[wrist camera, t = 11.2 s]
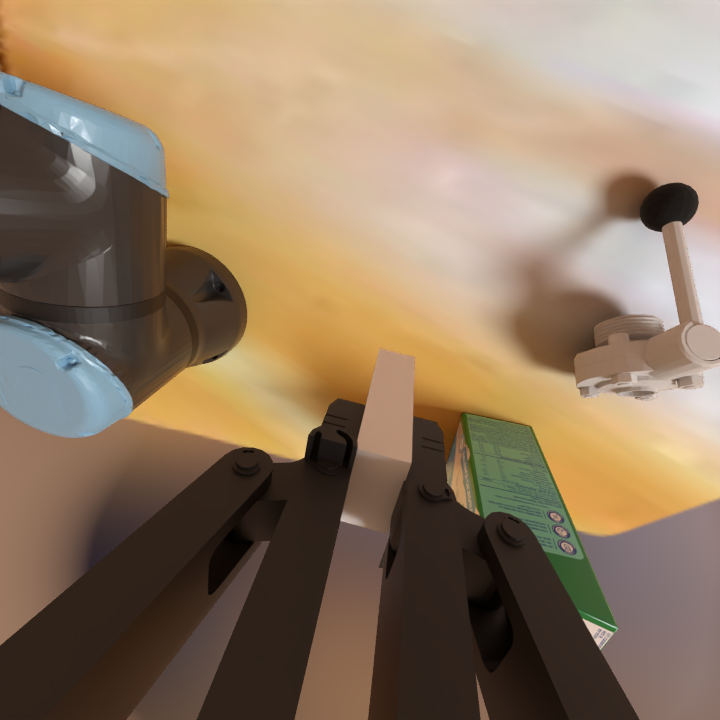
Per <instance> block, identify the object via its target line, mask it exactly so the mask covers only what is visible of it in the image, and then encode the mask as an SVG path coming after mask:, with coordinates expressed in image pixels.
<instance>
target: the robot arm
mask: <svg viewBox="0 0 720 720" xmlns="http://www.w3.org/2000/svg"><path fill="white" fill-rule="evenodd" d="M167 198H169V192H168V190H167V189H166V171H165V153H164V149H163V146H162V143H161V142H160V140H159V138H158V137H157V136H156V135H155V133H154V132H152V131H151V130H150V129H149V128H148V127H146V126H144V125H142V124H140V123H138V122H136V121H133V120H131V119H128V118H126V117H123V116H121V115H118V114H116V113H113V112H111V111H108V110H105V109H103V108H100V107H98V106H95V105H92V104H90V103H87V102H84V101H82V100H79V99H76V98H74V97H71V96H68V95H65V94H63V93H60V92H57V91H55V90H52V89H49V88H46V87H44V86H41V85H38V84H35V83H32V82H29V81H25V80H23V79H21V78H19V77H16V76H13V75H10V74H7V73H4V72H1V71H0V407H2V408H3V409H5V410H6V411H7V412H8V413H9V414H11V415H12V416H14V417H15V418H17V419H19V420H20V421H21V422H23V423H25V424H27V425H29V426H31V427H33V428H35V429H38V430H40V431H43V432H46V433H49V434H52V435H56V436H61V437H71V438H80V437H87V436H91V435H94V434H97V433H99V432H101V431H103V430H104V429H106V428H107V427H109V426H110V425H112V424H113V423H115V422H116V421H118V420H120V419H122V418H125V417H127V416H128V415H129V414H130V413H131V412H132V411H133V410H134V409H135V408H136V407H138V406H139V405H140V404H141V403H143V402H144V401H145V400H146V399H148V398H149V397H150V396H151V395H153V394H154V393H155V392H156V391H158V390H159V389H160V388H161V387H163V386H164V385H165V384H166V383H167V382H169V381H170V380H171V379H172V378H174V377H175V376H176V375H177V374H179V373H180V372H181V371H182V370H184V369H185V368H188V367H192V366H197V365H201V364H205V363H209V362H213V361H215V360H218V359H219V358H221V357H223V356H224V355H226V354H227V353H228V352H229V351H230V350H232V349H233V348H234V347H235V346H236V345H237V344H238V343H239V341H240V340H241V338H242V336H243V334H244V331H245V328H246V323H247V307H246V302H245V298H244V295H243V292H242V290H241V288H240V286H239V284H238V282H237V280H236V279H235V277H234V276H233V275H232V273H231V272H230V271H229V270H228V269H227V268H226V266H225V265H223V264H222V263H221V262H220V261H219V260H218V259H216V258H215V257H213V256H212V255H210V254H209V253H207V252H205V251H202V250H200V249H197V248H194V247H190V246H183V245H175V246H169V247H166V241H167ZM414 369H415V357H412V356H408V355H404V354H400V353H396V352H392V351H388V350H384V349H379V353H378V357H377V361H376V365H375V369H374V373H373V377H372V381H371V385H370V389H369V393H368V397H367V401H366V405H363V404H359V403H355V402H351V401H347V400H343V399H339V398H338V399H337V400H336V401H334V402H333V403H331V404H330V405H329V408H328V410H327V413H326V415H325V418H324V420H323V423H322V425H321V426H319V427H317V428H315V429H313V430H312V431H311V433H310V434H309V435H308V441H307V447H306V452H305V458H303V459H301V460H299V461H295V462H290V463H273V461H272V459H271V458H270V456H269V455H268V454H267V453H265V452H264V451H262V450H260V449H256V448H247V447H243V448H239V449H235V450H233V451H231V452H229V453H228V454H226V455H224V456H223V457H222V458H221V459H220V460H218V461H217V462H216V463H215V464H214V465H213V466H211V467H210V468H209V469H208V470H207V471H205V472H204V473H203V474H202V475H201V476H200V477H198V478H197V479H196V480H195V481H194V482H193V483H191V484H190V485H189V486H188V487H187V488H185V489H184V490H183V491H182V492H181V493H180V494H178V495H177V496H176V497H175V498H174V499H172V500H171V501H170V502H169V503H168V504H167V505H165V506H164V507H163V508H162V509H161V510H160V511H158V512H157V513H156V514H155V515H154V516H153V517H151V518H150V519H149V520H148V521H147V522H145V523H144V524H143V525H142V526H141V527H139V528H138V529H137V530H136V531H135V532H134V533H132V534H131V535H130V536H129V537H128V538H127V539H125V540H124V541H123V542H122V543H121V544H119V545H118V546H117V547H116V548H115V549H114V550H113V551H111V552H110V553H109V554H108V555H107V556H106V557H104V558H103V559H102V560H101V561H99V562H98V563H97V564H96V565H95V566H94V567H92V568H91V569H90V570H89V571H88V572H86V573H85V574H84V575H83V576H82V577H81V578H80V579H78V580H77V581H76V582H75V583H73V584H72V585H71V586H70V587H69V588H68V589H66V590H65V591H64V592H63V593H62V594H61V595H59V596H58V597H57V598H56V599H55V600H54V601H52V602H51V603H50V604H49V605H48V606H46V607H45V608H44V609H43V610H42V611H41V612H39V613H38V614H37V615H36V616H35V617H33V618H32V619H31V620H30V621H29V622H28V623H26V624H25V625H24V626H23V627H22V628H21V629H19V631H17V632H16V633H15V634H13V635H12V636H11V637H10V638H9V639H8V640H6V641H5V642H4V643H3V644H2V645H1V646H0V720H126V719H127V718H128V717H129V716H130V714H131V713H132V712H133V710H134V709H135V708H136V706H137V705H138V704H139V702H140V701H141V700H142V698H143V697H144V696H145V695H146V693H147V692H148V690H149V689H150V688H151V687H152V685H153V684H154V683H155V681H156V680H157V679H158V678H159V676H160V675H161V674H162V672H163V671H164V670H165V668H166V667H167V666H168V665H169V663H170V662H171V661H172V659H173V658H174V657H175V655H176V654H177V653H178V651H179V650H180V649H181V647H182V646H183V645H184V644H185V642H186V641H187V639H188V638H189V637H190V636H191V634H192V633H193V632H194V631H195V629H196V628H197V627H198V625H199V624H200V623H201V621H202V620H203V619H204V617H205V616H206V615H207V614H208V612H209V611H210V610H211V608H212V607H213V606H214V604H215V603H216V602H217V600H218V599H219V598H220V597H221V595H222V594H223V592H224V591H225V590H226V589H227V587H228V586H229V585H230V583H231V582H232V581H233V580H234V578H235V577H236V576H237V574H238V573H239V572H240V570H241V569H242V568H243V566H244V565H245V564H246V563H247V561H248V560H249V559H250V557H251V556H252V554H253V553H254V552H255V551H256V549H257V548H258V547H259V546H260V544H261V542H262V541H270V543H269V546H268V548H267V551H266V553H265V555H264V558H263V560H262V563H261V565H260V568H259V570H258V573H257V575H256V578H255V580H254V582H253V585H252V587H251V590H250V592H249V594H248V597H247V599H246V602H245V604H244V606H243V609H242V611H241V614H240V616H239V619H238V621H237V624H236V626H235V628H234V631H233V633H232V636H231V638H230V641H229V643H228V645H227V648H226V650H225V652H224V655H223V658H222V660H221V662H220V665H219V667H218V669H217V672H216V674H215V677H214V679H213V682H212V684H211V687H210V689H209V691H208V694H207V696H206V699H205V701H204V704H203V706H202V709H201V711H200V713H199V716H198V718H197V720H294V719H295V714H296V710H297V705H298V701H299V697H300V693H301V689H302V684H303V680H304V676H305V671H306V666H307V663H308V658H309V654H310V649H311V645H312V641H313V637H314V632H315V628H316V624H317V619H318V615H319V611H320V606H321V602H322V598H323V593H324V589H325V585H326V580H327V576H328V571H329V568H330V563H331V559H332V555H333V550H334V546H335V541H336V537H337V533H338V529H339V524H340V521H343V522H347V523H350V524H354V525H358V526H361V527H365V528H369V529H373V530H376V531H380V532H384V533H387V532H388V529H389V526H390V536H389V540H388V542H387V545H386V548H385V551H384V554H383V557H382V560H381V562H380V565H379V568H383V575H382V585H381V595H380V605H379V615H378V625H377V635H376V646H375V655H374V666H373V676H372V687H371V697H370V706H369V716H368V720H480V710H479V701H478V693H477V683H476V676H477V679H478V682H479V685H480V689H481V692H482V695H483V699H484V702H485V706H486V709H487V712H488V716H489V719H490V720H639V718H638V716H637V714H636V713H635V711H634V709H633V707H632V706H631V704H630V702H629V700H628V699H627V697H626V695H625V693H624V691H623V690H622V688H621V686H620V684H619V683H618V681H617V679H616V677H615V676H614V674H613V672H612V670H611V668H610V667H609V665H608V663H607V661H606V660H605V658H604V656H603V655H602V653H601V651H600V649H599V647H598V645H597V644H596V642H595V640H594V638H593V637H592V635H591V633H590V631H589V630H588V628H587V626H586V624H585V622H584V621H583V619H582V617H581V615H580V614H579V612H578V610H577V608H576V607H575V605H574V603H573V601H572V600H571V598H570V596H569V594H568V592H567V591H566V589H565V587H564V585H563V584H562V582H561V580H560V578H559V577H558V575H557V573H556V571H555V569H554V568H553V566H552V564H551V562H550V561H549V559H548V557H547V555H546V554H545V552H544V550H543V548H542V546H541V545H540V543H539V541H538V539H537V538H536V536H535V534H534V533H533V532H532V530H531V529H530V528H529V526H527V525H526V524H525V523H524V522H523V521H521V520H520V519H519V518H517V517H515V516H513V515H511V514H509V513H504V512H492V513H490V514H489V515H488V516H486V518H483V517H481V516H479V515H477V514H475V513H473V512H472V511H470V510H468V509H467V508H465V507H463V506H462V505H461V504H460V503H459V502H457V500H456V496H455V493H454V491H453V489H452V488H451V487H450V486H449V485H448V483H447V472H446V461H445V453H444V451H445V450H444V445H443V444H444V439H443V432H442V430H441V429H440V427H439V426H438V424H437V422H433V421H429V420H426V419H422V418H418V417H414V416H413V401H414ZM390 524H391V525H390ZM475 672H476V674H475Z"/></svg>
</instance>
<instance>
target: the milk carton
mask: <svg viewBox="0 0 720 720" xmlns="http://www.w3.org/2000/svg"><path fill="white" fill-rule="evenodd" d="M446 467H447V481H448V485H449V486H450V487H451V488H452V489H453V491H454V493H455V496H456V500H457V502H459V503H460V504H461V505H462V506H463V507H465V508H467V509H468V510H470V511H472V512H473V513H475V514H477V515H479V516H481V517H483V518H486V516H488V515H489V514H490V513H492V512H504V513H509V514H511V515H513V516H515V517H517V518H519V519H520V520H521V521H523V522H524V523H525V524H526V525H527V526H529V528H530V529H531V530H532V532H533V533H534V534H535V536H536V538H537V539H538V541H539V543H540V545H541V546H542V548H543V550H544V552H545V554H546V555H547V557H548V559H549V561H550V562H551V564H552V566H553V568H554V569H555V571H556V573H557V575H558V577H559V578H560V580H561V582H562V584H563V585H564V587H565V589H566V591H567V592H568V594H569V596H570V598H571V600H572V601H573V603H574V605H575V607H576V608H577V610H578V612H579V614H580V615H581V617H582V619H583V621H584V622H585V624H586V626H587V628H588V630H589V631H590V633H591V635H592V637H593V638H594V640H595V642H596V644H597V645H598V647H599V649H600V651H601V650H602V648H603V647H604V645H606V643H607V642H608V641H609V639H610V638H611V637H612V636H613V634H614V633H615V631H616V630H617V629H618V627H617V624H616V622H615V619H614V617H613V615H612V612H611V610H610V608H609V605H608V603H607V601H606V599H605V596H604V594H603V591H602V589H601V587H600V584H599V582H598V580H597V578H596V575H595V573H594V570H593V568H592V566H591V564H590V561H589V559H588V557H587V554H586V552H585V550H584V547H583V545H582V543H581V540H580V538H579V536H578V533H577V531H576V529H575V526H574V524H573V522H572V519H571V517H570V515H569V512H568V510H567V508H566V505H565V503H564V501H563V498H562V496H561V494H560V492H559V489H558V487H557V485H556V482H555V480H554V478H553V475H552V473H551V471H550V468H549V466H548V464H547V461H546V459H545V457H544V454H543V452H542V450H541V447H540V445H539V443H538V440H537V438H536V436H535V433H534V431H533V429H532V427H529V426H525V425H520V424H515V423H510V422H506V421H501V420H496V419H491V418H487V417H482V416H477V415H472V414H468V413H463V414H462V417H461V420H460V423H459V426H458V430H457V433H456V436H455V439H454V442H453V445H452V448H451V451H450V454H449V457H448V461H447V464H446Z"/></svg>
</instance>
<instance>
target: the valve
mask: <svg viewBox="0 0 720 720" xmlns="http://www.w3.org/2000/svg"><path fill="white" fill-rule="evenodd" d="M698 203H699V201H698V195H697V193H696V191H695V190H694V189H693V188H691V187H690V186H688V185H685V184H682V183H669V184H665V185H662V186H660V187H658V188H656V189H655V190H653V191H652V192H651V193H649V195H648V196H647V197H646V198H645V200H644V201H643V203H642V205H641V208H640V217H641V221H642V222H643V224H644V225H645V226H646V227H647V228H649V229H651V230H654V231H658V232H662V233H663V238H664V243H665V248H666V254H667V259H668V264H669V269H670V274H671V280H672V285H673V290H674V295H675V300H676V306H677V311H678V316H679V321H680V325H678V326H675V327H673V328H671V329H669V330H667V331H665V332H664V328H663V327H664V325H663V321H662V320H661V319H659V318H658V317H656V316H655V315H646V314H639V315H623V316H619V317H615V318H611V319H608V320H606V321H603V322H601V323H599V324H597V325H596V326H595V327H594V329H593V331H594V338H595V345H596V346H595V347H596V348H594V349H591V350H588V351H585V352H580V353H577V355H576V357H575V358H574V367H575V377H576V387H577V388H578V389H580V394H581V397H585V398H594V397H598V396H599V393H608V394H617V395H618V396H623V397H635V399H637V400H642V401H648V400H652V399H656V398H658V395H657V393H658V391H664V390H670V389H677V388H680V389H687V390H688V389H697V388H701V387H703V386H704V381H703V372H702V371H704V370H707V369H711V368H714V367H718V366H720V333H719V332H718V331H717V330H716V329H714V328H712V327H711V326H708V325H704V324H703V320H702V315H701V310H700V305H699V301H698V296H697V291H696V286H695V282H694V277H693V272H692V267H691V263H690V258H689V253H688V248H687V244H686V239H685V234H684V229H683V225H685V224H686V223H687V222H688V221H689V220H690V219H692V217H693V216H694V215H695V213H696V211H697V208H698Z"/></svg>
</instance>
